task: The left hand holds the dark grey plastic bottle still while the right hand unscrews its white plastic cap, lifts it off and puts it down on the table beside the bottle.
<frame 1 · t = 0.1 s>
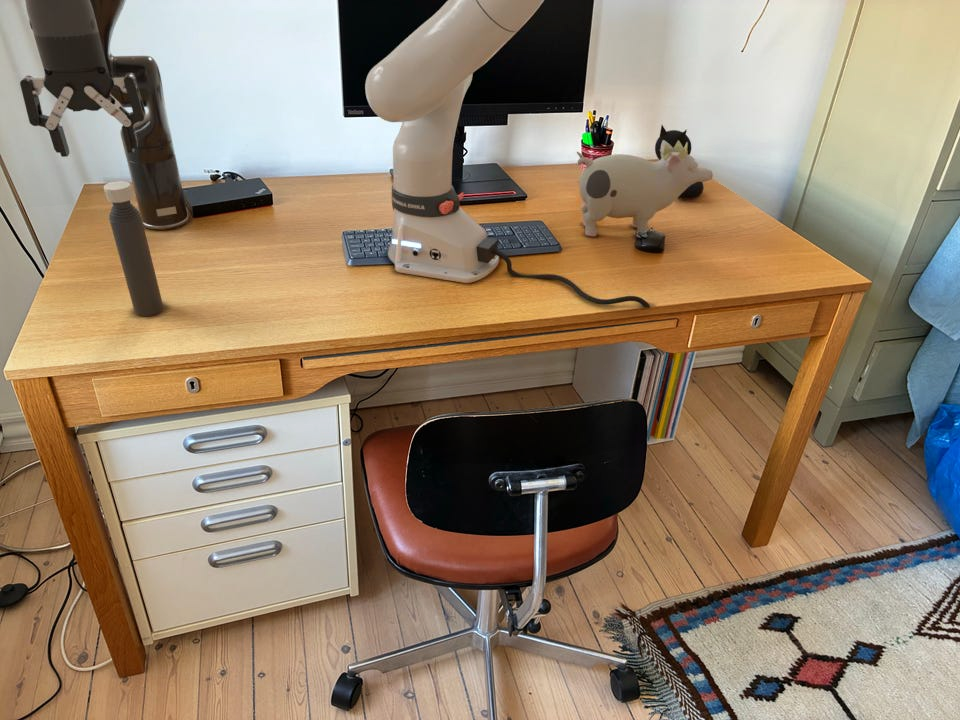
left hand: (98, 153, 101), 29 cm above the table, tool pointing down, fingers open, 8 cm apart
cap: (117, 187, 110), point 22 cm above the table, screwed on, not yet turned
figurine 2: (675, 190, 179), on the table
bottle: (149, 309, 123), on the table
figurine: (632, 232, 157), on the table
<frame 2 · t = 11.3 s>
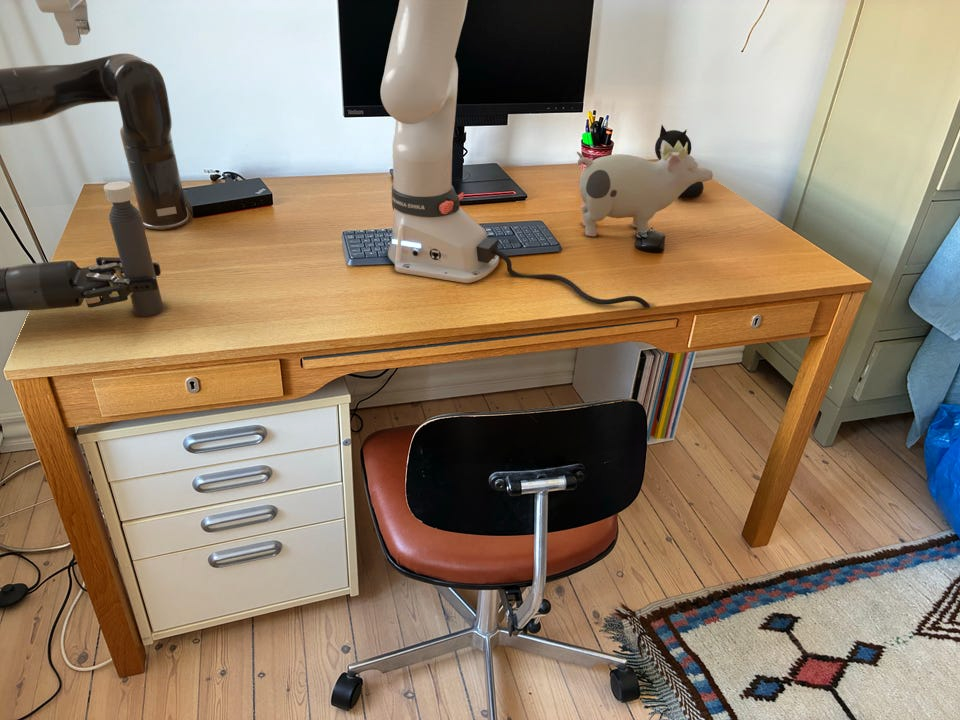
left hand: (157, 275, 120), 6 cm above the table, tool horizontal, fingers closed on bottle, 4 cm apart
right hand: (79, 38, 98), 43 cm above the table, tool pointing down, fingers open, 6 cm apart
bottle: (149, 309, 123), on the table, touching left hand
everything else where it was.
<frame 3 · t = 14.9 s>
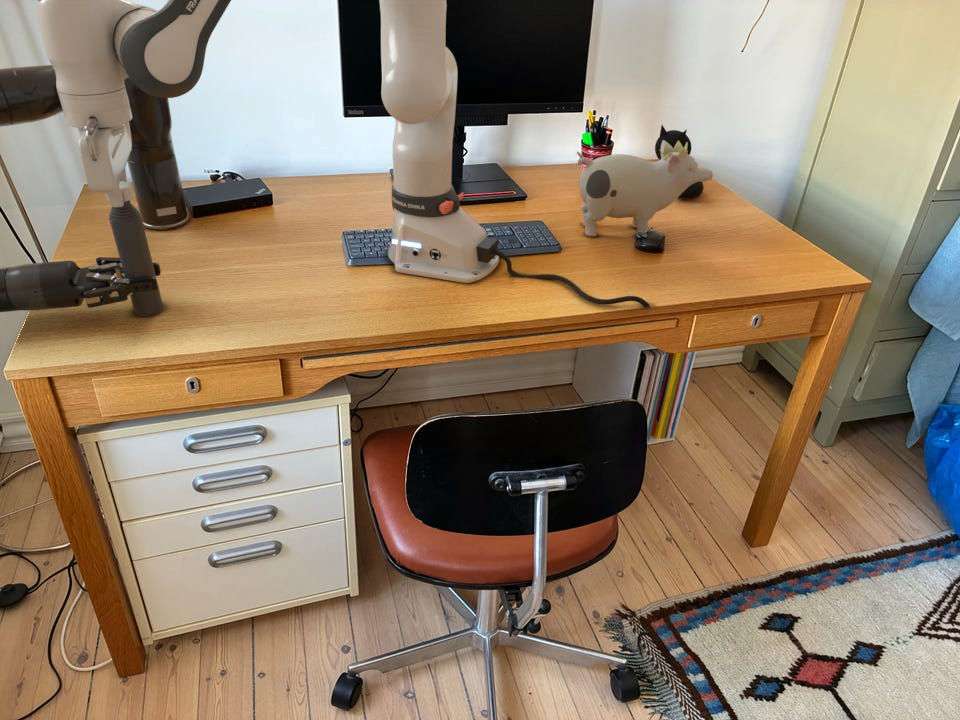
left hand: (157, 275, 120), 6 cm above the table, tool horizontal, fingers closed on bottle, 4 cm apart
right hand: (120, 199, 111), 20 cm above the table, tool pointing down, fingers closed on cap, 3 cm apart
cap: (117, 187, 110), point 22 cm above the table, screwed on, not yet turned, touching right hand
bottle: (149, 309, 123), on the table, touching left hand
everything else where it was.
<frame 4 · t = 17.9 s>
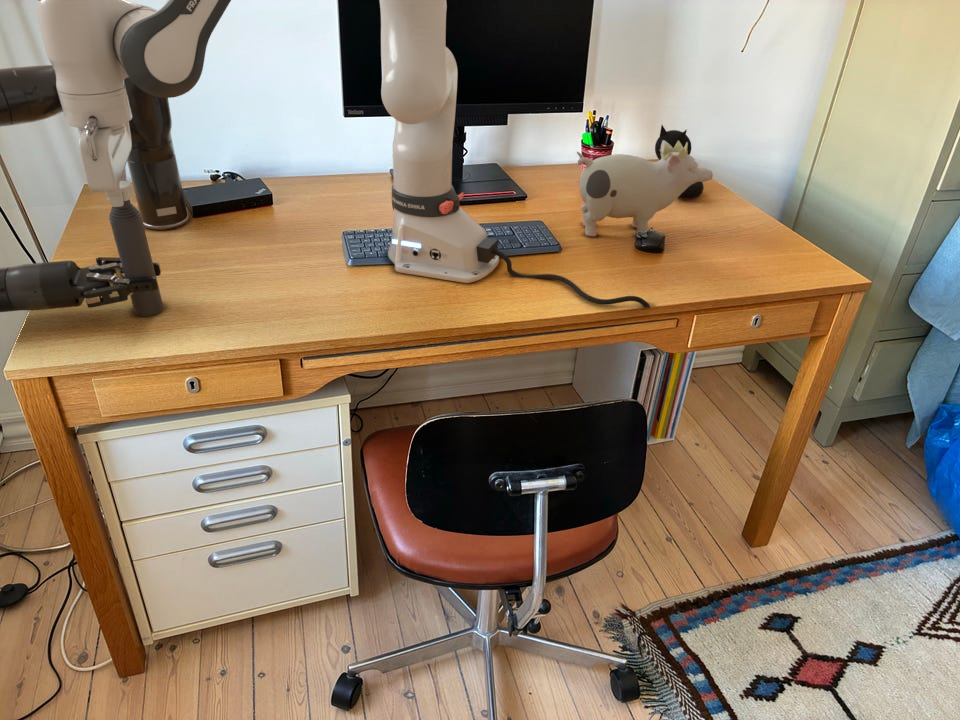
left hand: (157, 275, 120), 6 cm above the table, tool horizontal, fingers closed on bottle, 4 cm apart
right hand: (120, 199, 111), 20 cm above the table, tool pointing down, fingers closed on cap, 3 cm apart
cap: (117, 186, 110), point 22 cm above the table, turned 75° so far, risen 0.1 cm, still on its thread, touching right hand
bottle: (149, 309, 123), on the table, touching left hand
everything else where it was.
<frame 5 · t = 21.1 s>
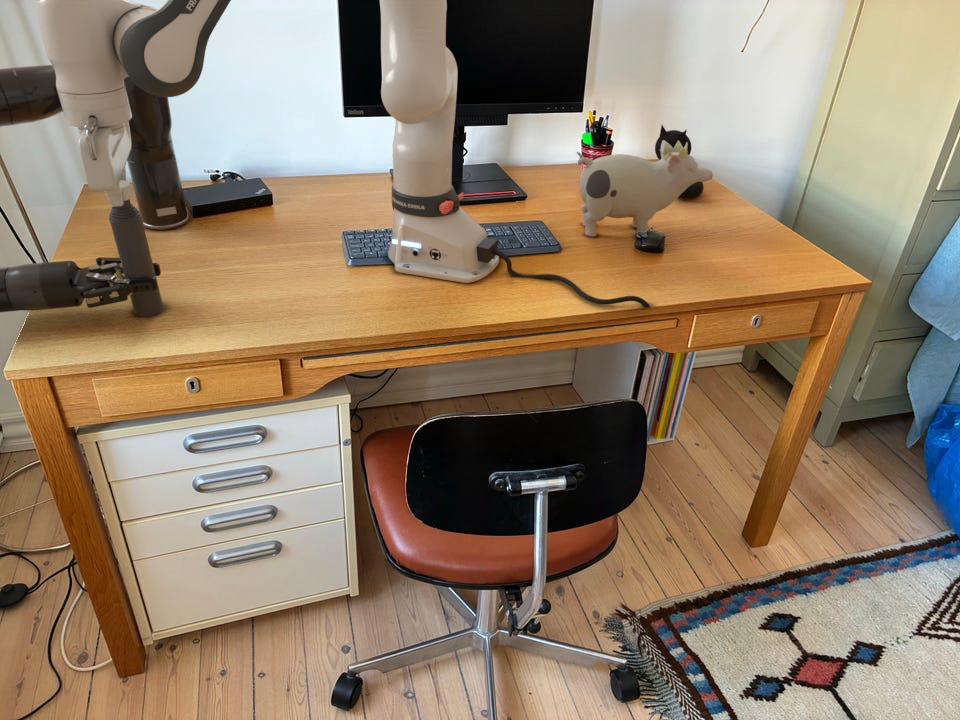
left hand: (157, 276, 120), 6 cm above the table, tool horizontal, fingers closed on bottle, 4 cm apart
right hand: (120, 198, 111), 20 cm above the table, tool pointing down, fingers closed on cap, 3 cm apart
cap: (117, 186, 110), point 22 cm above the table, turned 151° so far, risen 0.2 cm, still on its thread, touching right hand
bottle: (149, 309, 122), on the table, touching left hand
everything else where it was.
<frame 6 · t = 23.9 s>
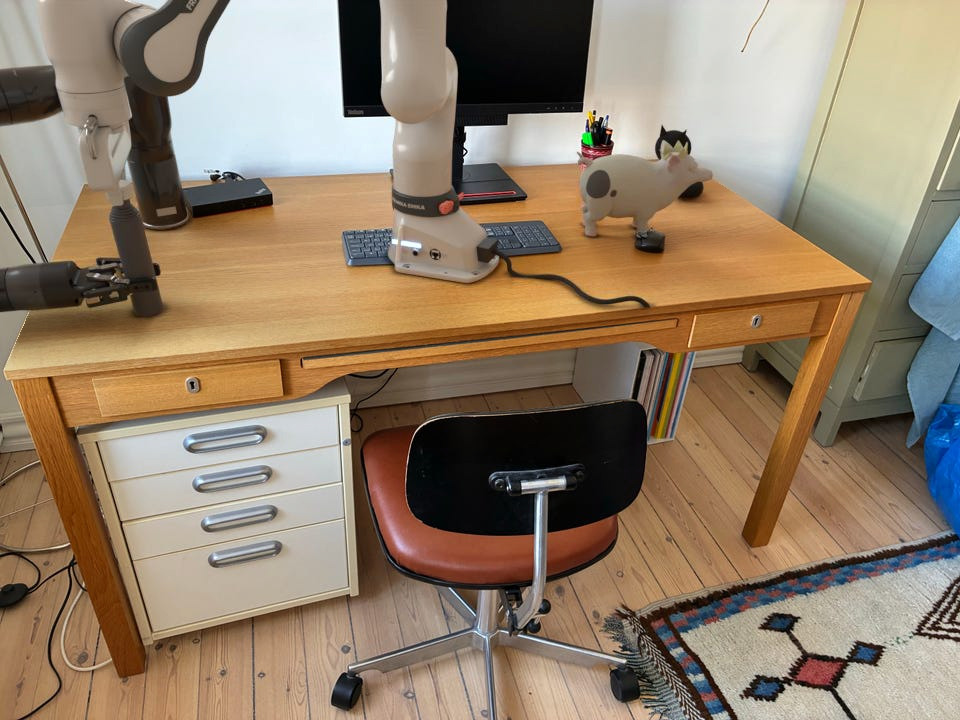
left hand: (157, 276, 120), 6 cm above the table, tool horizontal, fingers closed on bottle, 4 cm apart
right hand: (120, 198, 111), 20 cm above the table, tool pointing down, fingers closed on cap, 4 cm apart
cap: (117, 185, 110), point 22 cm above the table, turned 226° so far, risen 0.2 cm, still on its thread, touching right hand
bottle: (149, 309, 122), on the table, touching left hand
everything else where it was.
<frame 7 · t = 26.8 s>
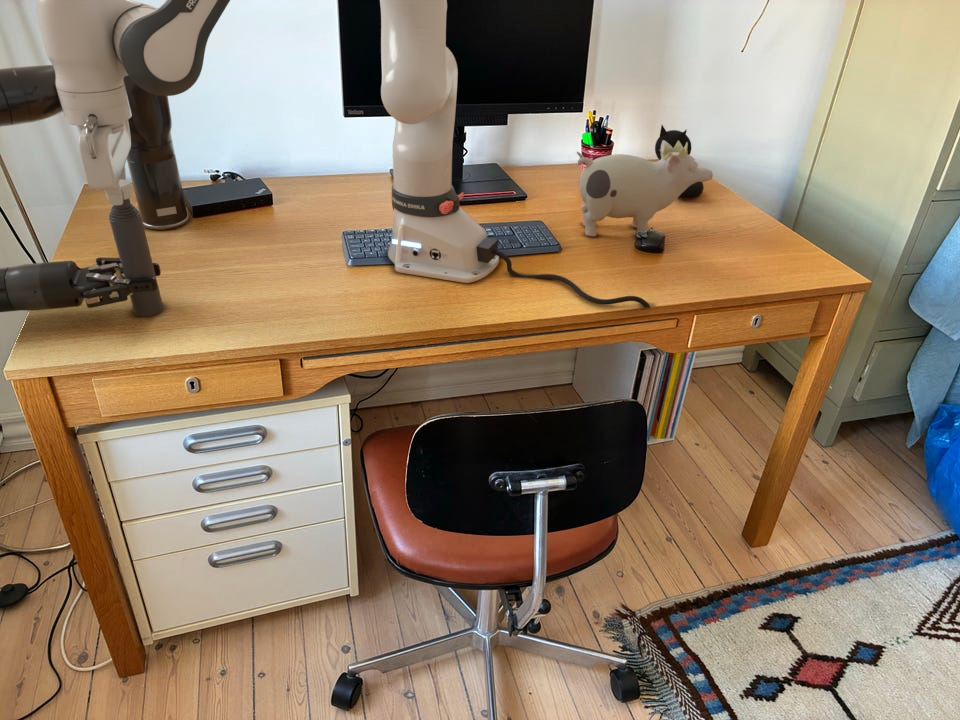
left hand: (157, 276, 120), 6 cm above the table, tool horizontal, fingers closed on bottle, 4 cm apart
right hand: (120, 197, 111), 20 cm above the table, tool pointing down, fingers closed on cap, 4 cm apart
cap: (116, 185, 110), point 22 cm above the table, turned 301° so far, risen 0.3 cm, still on its thread, touching right hand
bottle: (149, 309, 122), on the table, touching left hand
everything else where it was.
when the right hand's fingers open (2 cm above the table, at t = 39.4 s): cap drops 2 cm, point 2 cm above the table.
when the left hand's fingers open (6 cm above the table, at t = 40.5 s): bottle stays where it is, on the table.
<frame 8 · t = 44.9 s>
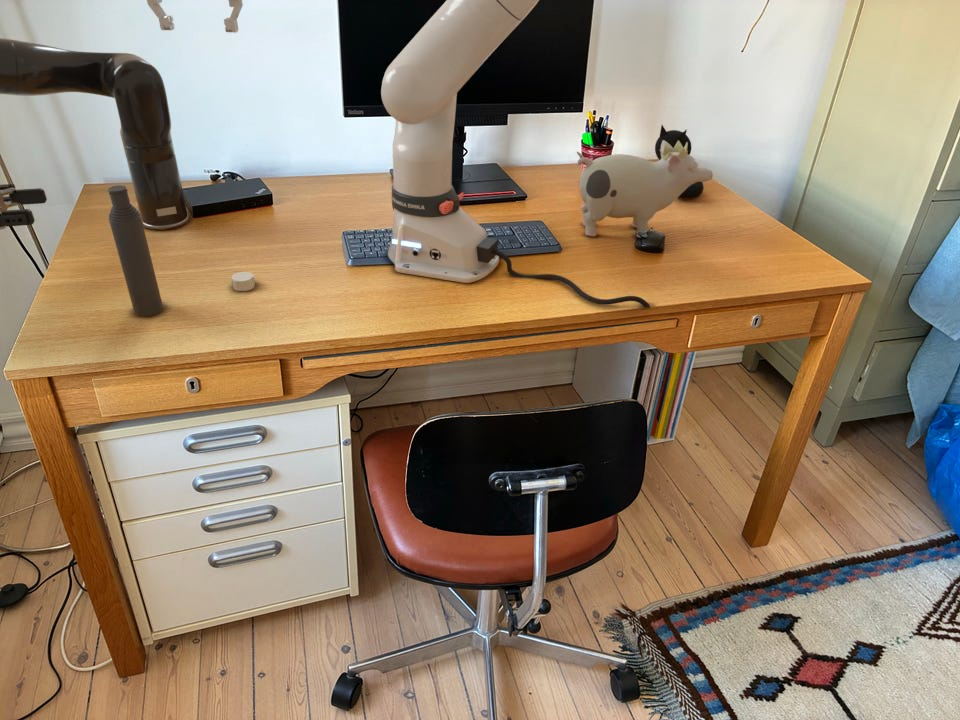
left hand: (39, 205, 109), 20 cm above the table, tool horizontal, fingers open, 8 cm apart
right hand: (200, 30, 106), 43 cm above the table, tool pointing down, fingers open, 8 cm apart
cap: (242, 277, 129), point 2 cm above the table, off its thread
bottle: (148, 310, 122), on the table
everything else where it was.
at the end: cap came off its thread; cap point 1.8 cm above the table; the left hand is holding nothing; the right hand is holding nothing; bottle tilted 0°; bottle moved 0.1 cm from its start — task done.
